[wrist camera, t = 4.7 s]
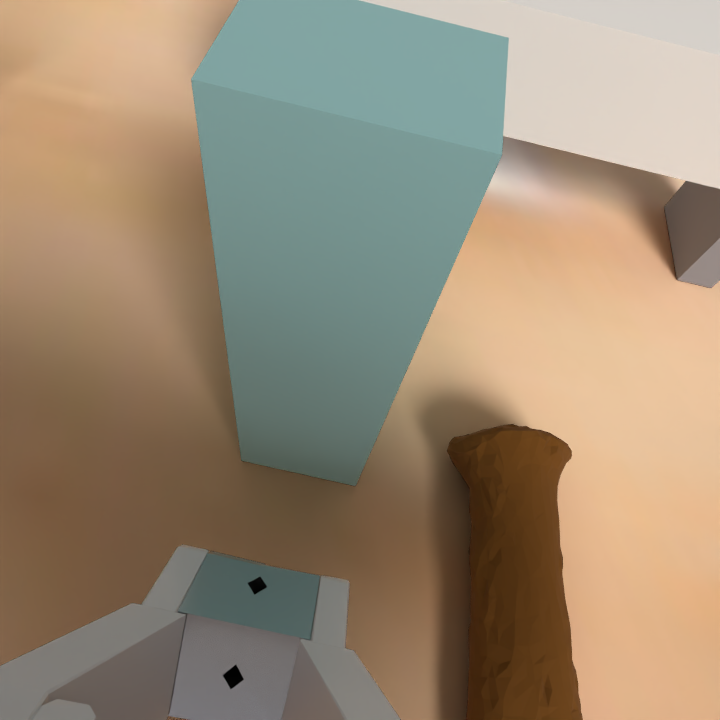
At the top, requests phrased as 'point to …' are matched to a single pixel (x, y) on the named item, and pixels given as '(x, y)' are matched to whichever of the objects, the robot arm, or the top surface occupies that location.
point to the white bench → (616, 94)
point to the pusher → (338, 208)
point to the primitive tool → (516, 576)
